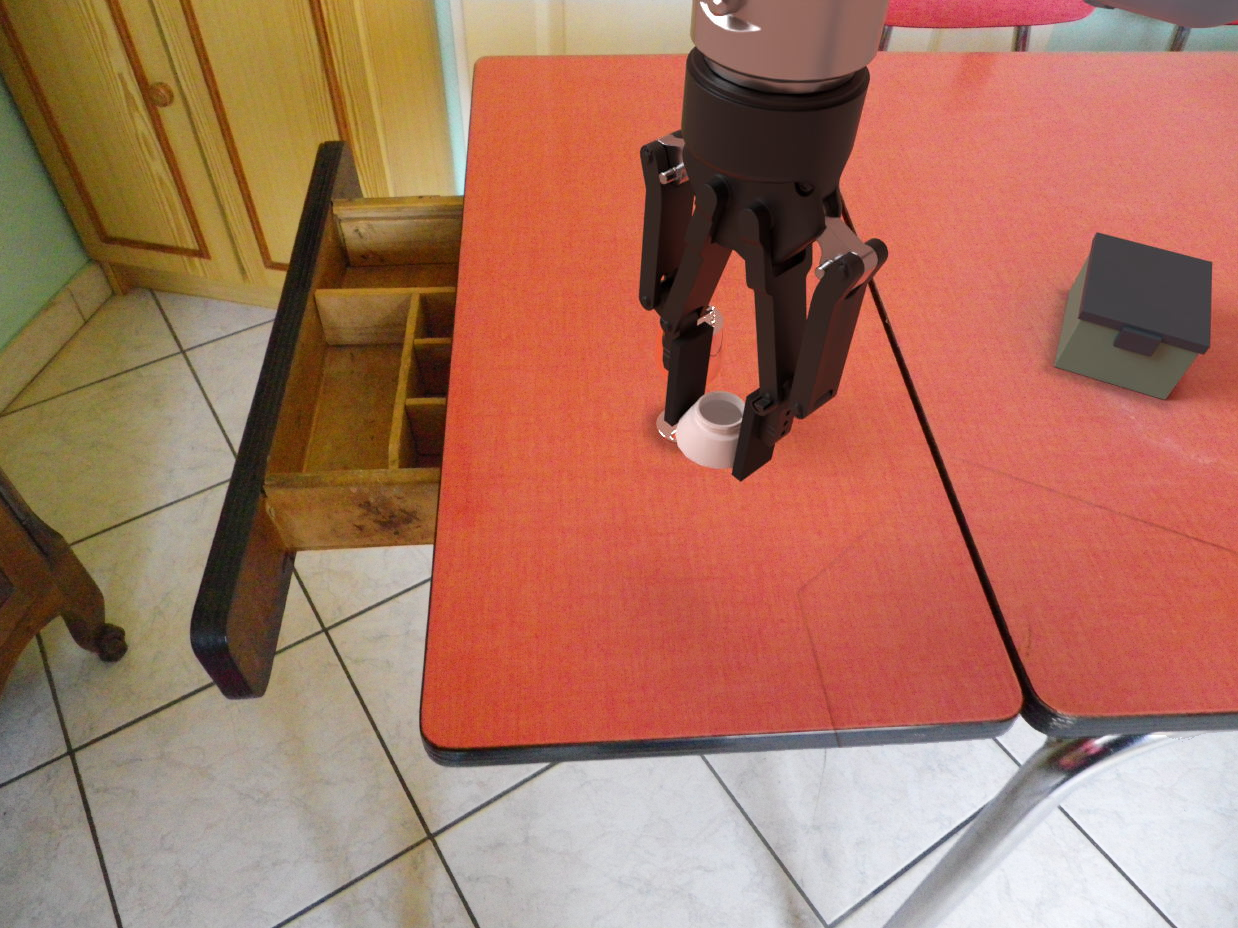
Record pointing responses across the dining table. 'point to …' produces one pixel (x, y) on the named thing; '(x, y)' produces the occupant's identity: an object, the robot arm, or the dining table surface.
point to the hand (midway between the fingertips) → (716, 438)
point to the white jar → (711, 429)
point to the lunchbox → (1136, 316)
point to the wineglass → (714, 362)
